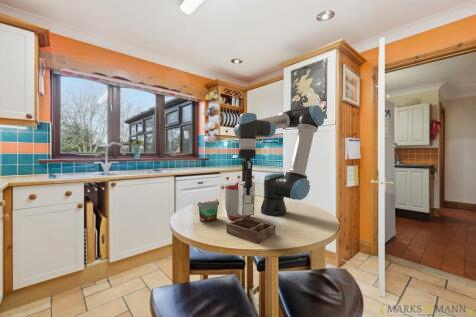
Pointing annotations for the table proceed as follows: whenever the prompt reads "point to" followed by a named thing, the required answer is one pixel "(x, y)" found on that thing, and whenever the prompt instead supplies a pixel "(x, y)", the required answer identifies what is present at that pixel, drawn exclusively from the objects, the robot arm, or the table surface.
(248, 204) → the syrup box
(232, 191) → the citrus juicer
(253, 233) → the socket block
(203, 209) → the food container
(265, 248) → the table surface
